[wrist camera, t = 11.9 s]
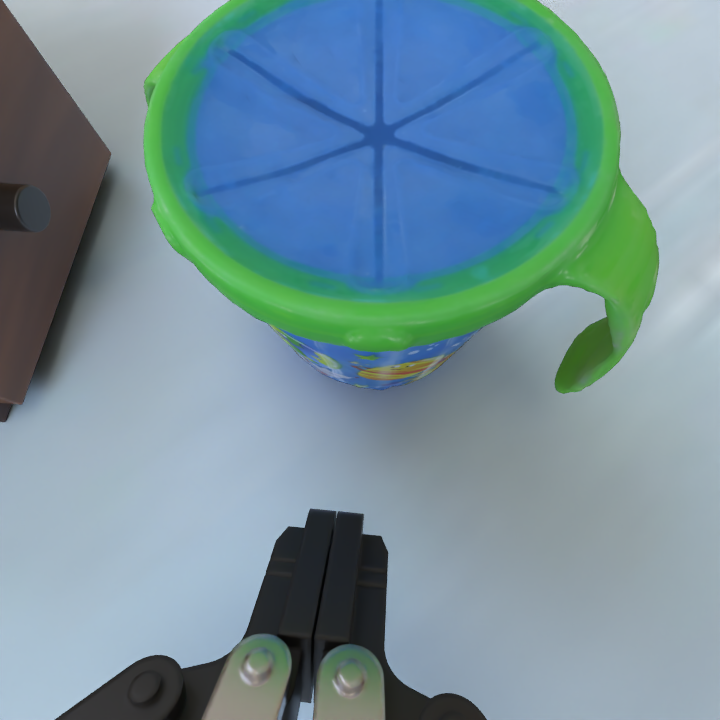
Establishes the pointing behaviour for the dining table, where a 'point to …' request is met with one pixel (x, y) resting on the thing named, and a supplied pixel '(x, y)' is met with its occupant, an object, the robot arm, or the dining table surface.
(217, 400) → the dining table surface
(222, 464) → the dining table surface
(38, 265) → the drawer
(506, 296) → the snack cup
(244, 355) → the dining table surface
